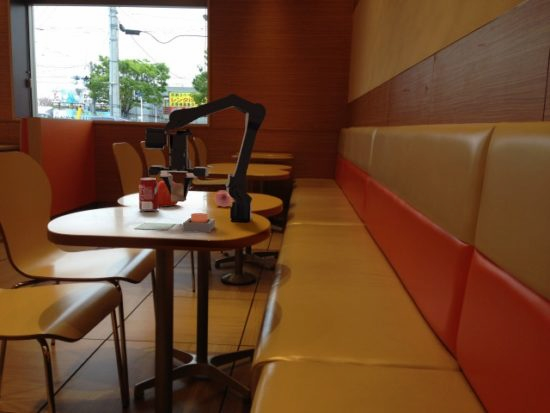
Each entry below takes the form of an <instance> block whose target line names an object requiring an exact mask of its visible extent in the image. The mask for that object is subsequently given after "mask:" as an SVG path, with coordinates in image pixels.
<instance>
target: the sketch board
mask: <svg viewBox="0 0 550 413" xmlns="http://www.w3.org/2000/svg"><path fill="white" fill-rule="evenodd" d="M173 225H174V226H175V225H176V223H170V222H169V223H168V222H167V223H164V222H163V223H162V222H143V223H141V224H139V225H138V226H135V227H134V228H133V229H134V230H148V229H152V230H154V231H155V230H156V231H168V230H169V228H170V229H171V228H172V227H174V226H173ZM152 230H151V231H152Z"/></svg>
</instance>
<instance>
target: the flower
mask: <svg viewBox="0 0 550 413" xmlns="http://www.w3.org/2000/svg"><path fill="white" fill-rule="evenodd" d="M214 201H215V204H217V206H220V207H221V208H222V207H223V208H226V207H229V206H232V202H233V201H234V200H233V198H232V197H231V196H230V195H229V193H228V192H227V189H225V190H223V189H221V190H218V191H216V193H214Z"/></svg>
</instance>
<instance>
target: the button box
mask: <svg viewBox="0 0 550 413" xmlns="http://www.w3.org/2000/svg"><path fill="white" fill-rule="evenodd" d="M215 221H216V219H215V218H208V223H191V217H189V218H187V219H186V220H185V221H184V222H182V228H183V230H182V231H183V232H195V233H197V232H198V233H210V232H212V230H213V229H214V228H215V226H216V225H215V224H216V223H215Z"/></svg>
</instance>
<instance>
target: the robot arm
mask: <svg viewBox="0 0 550 413" xmlns="http://www.w3.org/2000/svg"><path fill="white" fill-rule="evenodd" d="M229 108H233V109H235V110H237V111H239V112H240V113H242V114H244V115H245V120H244V122H245V125H244V126H245V129H244V134H243V137H242V142H241V145H240V149H239V153H238V157H237V161H236V165H235V168H234V171H233V173H232V174H229V173H228V174H227V181H226V183H225V187H226V192H228V193H229V195H230V197H232V198H231V199H233V200H232V201H231V202H232V203H231V205H230V207H229V209H230V212H229V218H230V222H238V223H239V222H240V223H241V222H242V223H243V222H244V223H247V222H248V223H250V222H251V221H252V218H253V217H252V201H253V198H252V196H251V195H250V194H249V193H248V192H246V191H247V173H248V168H249V165H250V161H251V157H252V153H253V149H254V147H255V142H256V138H257V134H258V132H259V129H260V128H261V126H262V125H263V122H264V120H265V118H266V116H267V109H266V107H265V105H264V104H262V103H259V102H255V103H254V102H251V101H249V100H247V99H246V98H243V97H240V96H238V95H237V94H236V93H230V94H229V95H227V96H224V97H221V98H219V99H214V100H213V101H212V100H211V101H210V102H207V103H204V104H201V105H198V106H194V107H187V108H181V109H180V108H179V109H175V110H172V111H171V112H170V113H169V117H168V120H169V121H168V122H167V123H166V125H164V127H163V128H159V127H155V128H154V127H150V126H148V127H146V128H145V137H144V146H145V149H146V150H165V147H168V143H169V149H168V150H169V152H168V157H169V165H168V167H166V166H165V165H156V164H155V165H151V166H149V167H148V169H147V175H148V176H158V175H160V176H159V179H162V181H164V182H165V184H166V186H167V188H168V191H169V193H170V195H171V186H172V185H173V182H172V181H173V179H174V174H175V175H177V174H178V175H186V176H185V177H184V183H183V185H184V198H186V199H187V196H188V194H189V190H190V187H191V184H192V183H193V181H194V180H195V179H197V178H201V177H204V178H205V177H208V176H209V175H210V174H209V168H208V167H207V166H195V167H193V168H192V160H191V159H190V158H189V152H188V146H189V144H188V136H189V137H190V136H191V137H192V136H194V133H193V132H192V131H191V130H190V128H189V127H187V128H186V130H185V129H184V130H182V128H184V127H186V126H188V125H190V124H191V123H193V122H195V121H197V120H198V119H200V118H203V117H207V116H209V115H211V114H215V113H218V112H220V111H223V110H227V109H229ZM175 129H176V133H169V132H171V131H174V130H175ZM180 129H181V130H180ZM167 132H168V133H167ZM168 137H169V142H168Z"/></svg>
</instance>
